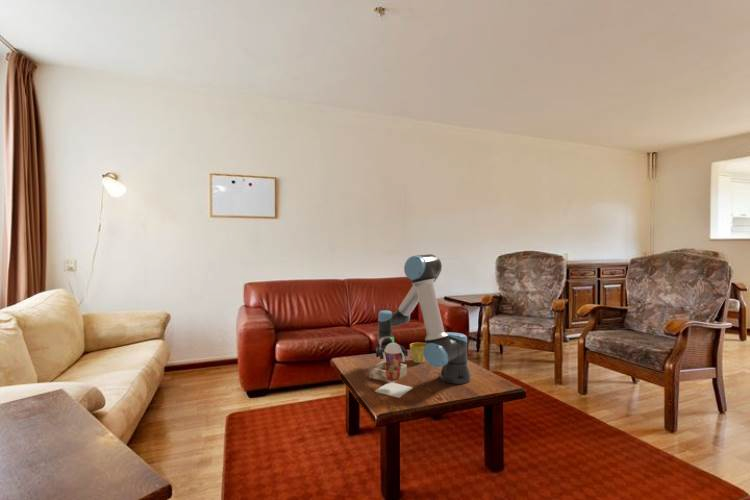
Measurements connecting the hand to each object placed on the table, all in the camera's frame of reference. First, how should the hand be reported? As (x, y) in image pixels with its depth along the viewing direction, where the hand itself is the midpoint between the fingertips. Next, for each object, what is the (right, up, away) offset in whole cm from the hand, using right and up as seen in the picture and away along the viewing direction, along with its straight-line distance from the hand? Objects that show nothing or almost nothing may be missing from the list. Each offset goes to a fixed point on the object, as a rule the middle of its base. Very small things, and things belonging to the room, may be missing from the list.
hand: (394, 359), depth 170 cm
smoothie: (0, -11, +5) cm, 12 cm away
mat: (0, -16, +5) cm, 17 cm away
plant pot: (+17, -15, +46) cm, 51 cm away
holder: (-2, -15, +23) cm, 28 cm away
